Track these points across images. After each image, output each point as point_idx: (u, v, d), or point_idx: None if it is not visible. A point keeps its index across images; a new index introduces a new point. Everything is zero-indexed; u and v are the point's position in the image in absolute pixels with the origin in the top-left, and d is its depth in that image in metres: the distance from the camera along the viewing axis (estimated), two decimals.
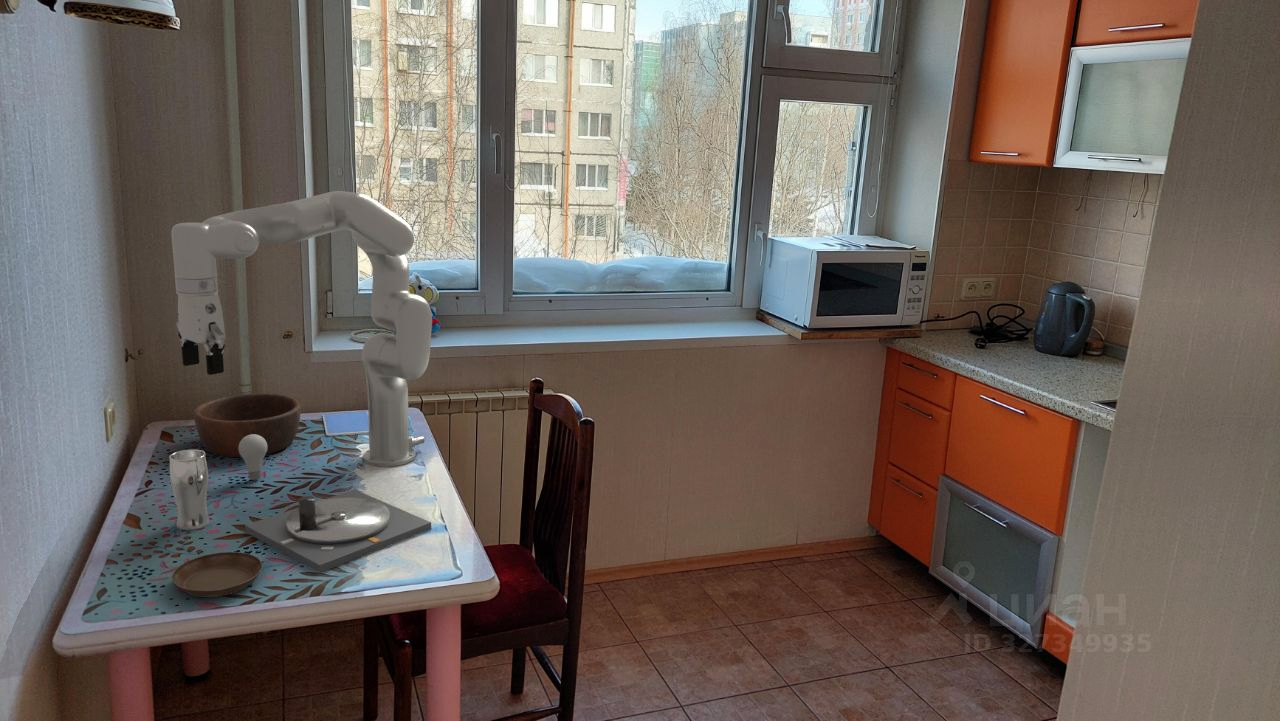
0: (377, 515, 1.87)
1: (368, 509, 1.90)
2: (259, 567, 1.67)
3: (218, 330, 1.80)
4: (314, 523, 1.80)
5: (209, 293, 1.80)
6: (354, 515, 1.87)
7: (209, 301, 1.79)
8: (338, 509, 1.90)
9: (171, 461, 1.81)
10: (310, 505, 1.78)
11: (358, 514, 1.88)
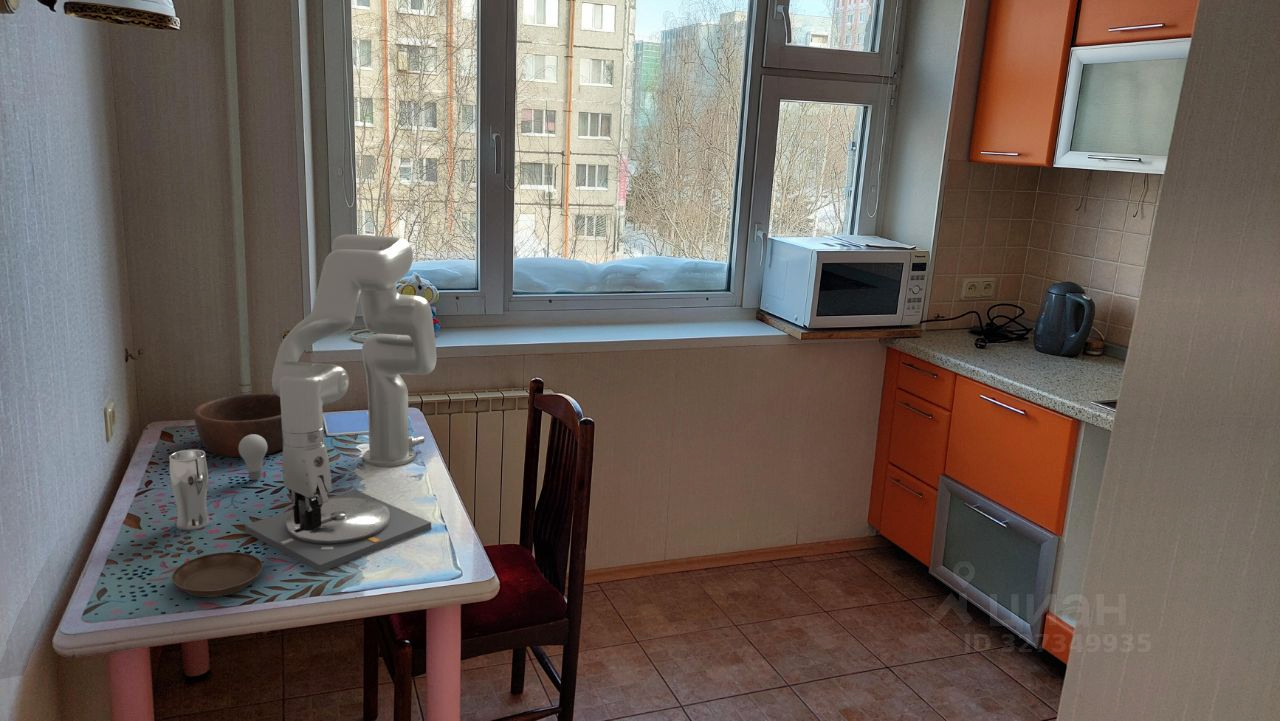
0: (377, 515, 1.87)
1: (368, 509, 1.90)
2: (259, 567, 1.67)
3: (323, 491, 1.75)
4: None
5: (317, 445, 1.75)
6: (354, 515, 1.87)
7: (317, 454, 1.74)
8: (338, 509, 1.90)
9: (171, 461, 1.81)
10: None
11: (358, 514, 1.88)
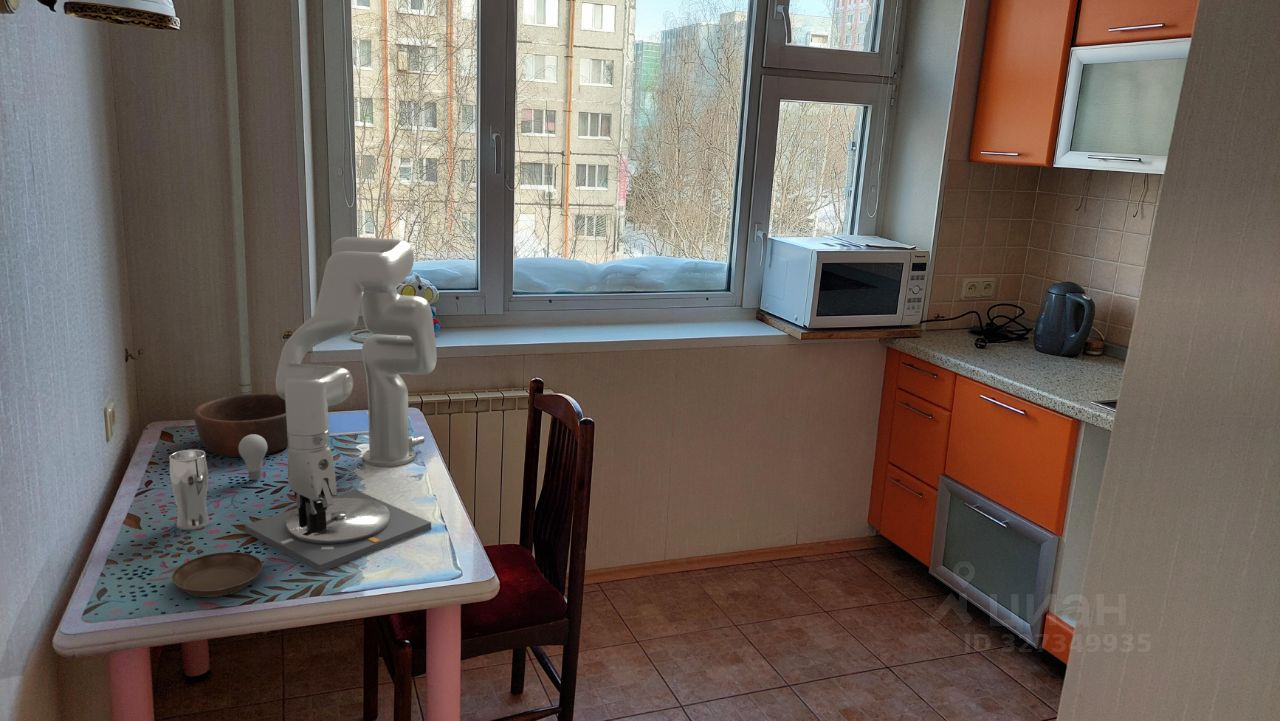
0: (376, 511, 1.89)
1: (363, 506, 1.91)
2: (259, 567, 1.67)
3: (328, 494, 1.74)
4: None
5: (322, 448, 1.73)
6: (354, 513, 1.88)
7: (322, 457, 1.73)
8: (333, 510, 1.89)
9: (171, 461, 1.81)
10: None
11: (356, 512, 1.89)
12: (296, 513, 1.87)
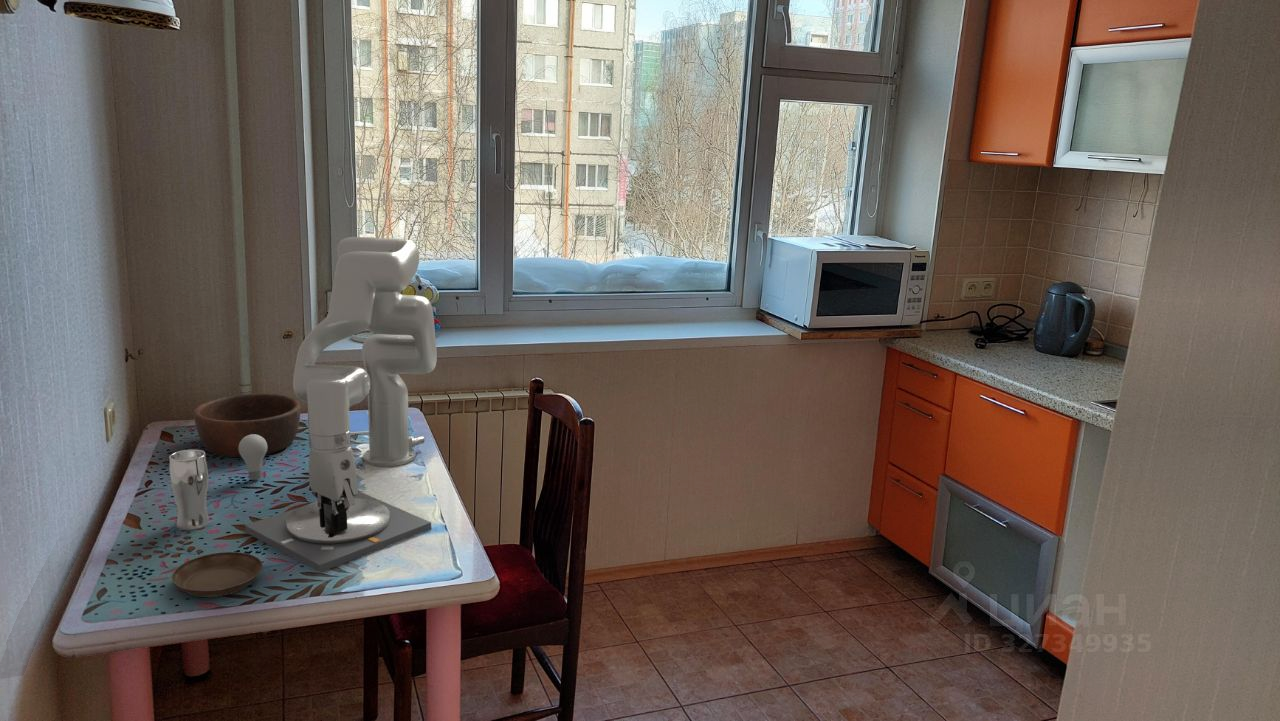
0: (368, 505, 1.92)
1: None
2: (259, 567, 1.67)
3: (349, 494, 1.74)
4: None
5: (343, 448, 1.73)
6: (349, 511, 1.89)
7: (344, 458, 1.73)
8: None
9: (171, 461, 1.81)
10: None
11: (349, 509, 1.90)
12: (291, 523, 1.82)
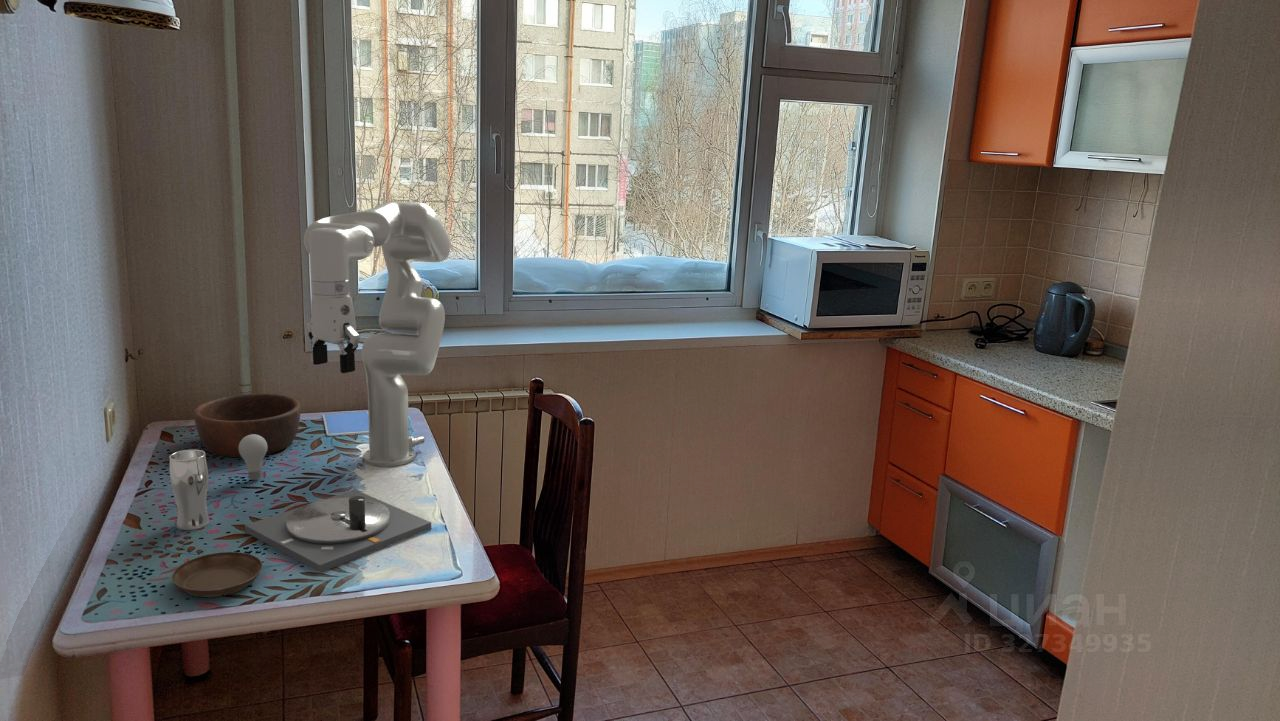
0: (346, 502, 1.93)
1: (326, 506, 1.91)
2: (259, 567, 1.67)
3: (352, 330, 1.88)
4: None
5: (343, 295, 1.88)
6: (339, 510, 1.89)
7: (344, 303, 1.88)
8: (318, 518, 1.85)
9: (171, 461, 1.81)
10: None
11: (337, 509, 1.89)
12: (305, 533, 1.78)
